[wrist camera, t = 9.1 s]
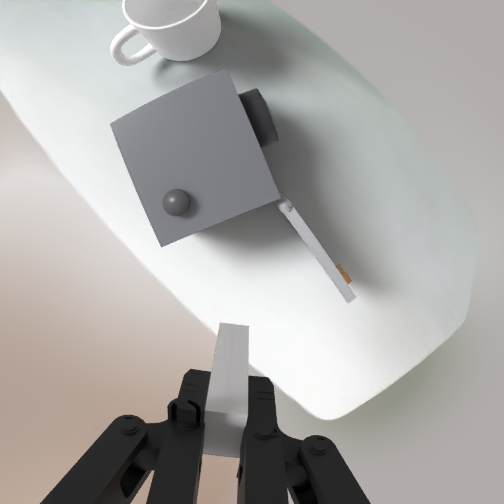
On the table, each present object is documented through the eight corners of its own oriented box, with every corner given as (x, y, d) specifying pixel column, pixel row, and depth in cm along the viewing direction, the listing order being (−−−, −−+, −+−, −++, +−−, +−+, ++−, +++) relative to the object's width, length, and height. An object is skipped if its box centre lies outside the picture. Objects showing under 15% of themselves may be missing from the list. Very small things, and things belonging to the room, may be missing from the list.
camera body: (142, 132, 32) (106, 122, 23) (251, 84, 31) (251, 55, 21) (183, 228, 35) (159, 251, 26) (292, 184, 34) (308, 191, 24)
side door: (328, 275, 36) (347, 304, 29) (270, 196, 34) (276, 205, 26) (340, 267, 36) (361, 293, 29) (282, 187, 34) (292, 193, 26)
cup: (236, 35, 29) (231, -8, 19) (152, 96, 31) (118, 74, 21) (195, -5, 27) (179, -50, 18) (116, 53, 29) (77, 25, 20)
